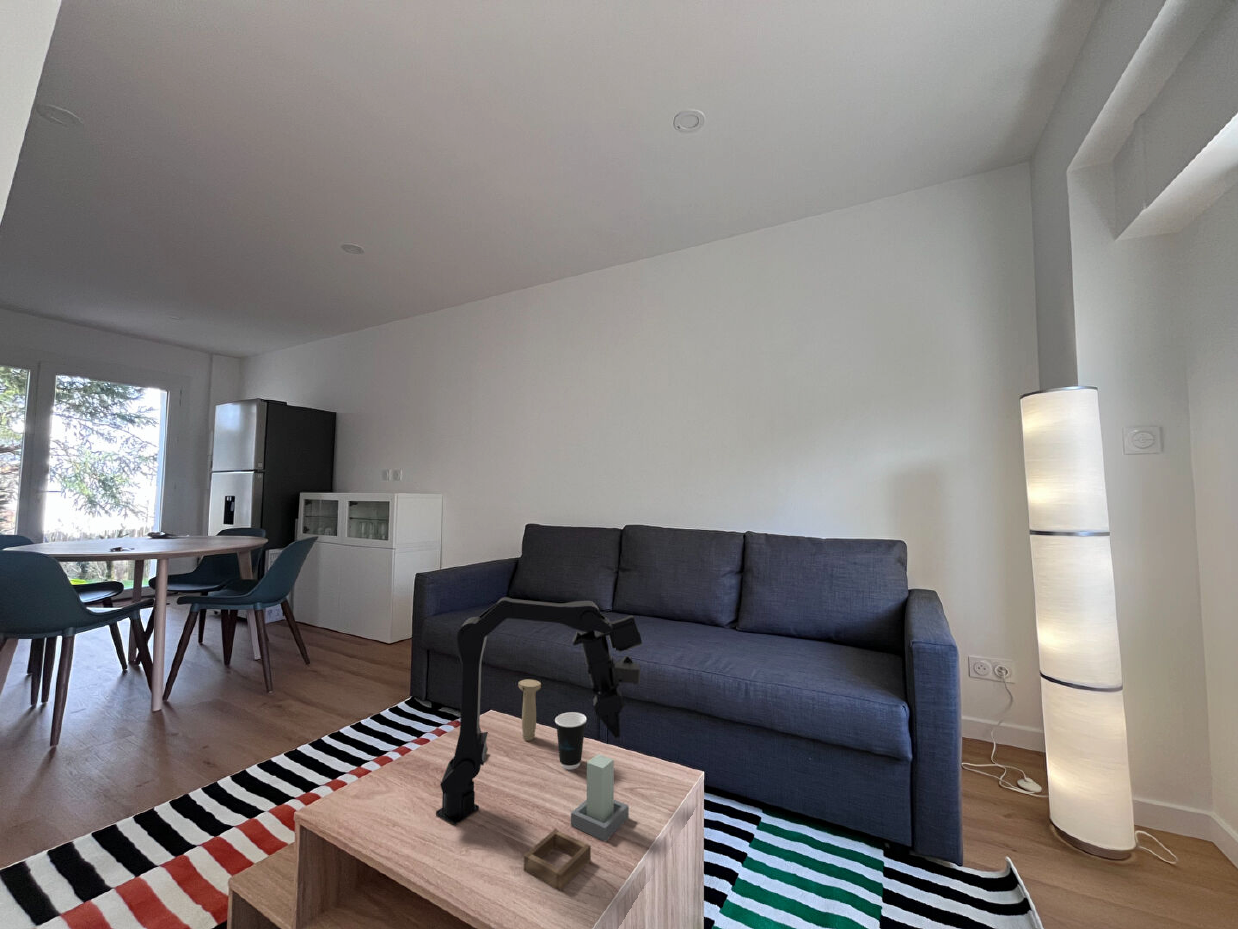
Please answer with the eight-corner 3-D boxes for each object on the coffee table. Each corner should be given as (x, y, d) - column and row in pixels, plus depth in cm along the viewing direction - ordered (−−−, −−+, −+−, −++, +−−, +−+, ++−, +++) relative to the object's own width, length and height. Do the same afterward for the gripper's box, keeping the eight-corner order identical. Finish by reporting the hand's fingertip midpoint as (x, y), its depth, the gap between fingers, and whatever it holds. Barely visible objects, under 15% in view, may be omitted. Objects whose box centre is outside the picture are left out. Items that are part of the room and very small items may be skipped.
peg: (586, 824, 99) (586, 762, 100) (597, 813, 103) (598, 754, 104) (602, 831, 97) (602, 768, 98) (613, 820, 100) (613, 759, 101)
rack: (523, 870, 87) (524, 855, 87) (555, 842, 94) (555, 829, 94) (560, 891, 82) (560, 875, 82) (590, 860, 89) (590, 846, 89)
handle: (531, 745, 131) (532, 688, 132) (514, 739, 135) (515, 683, 136) (543, 738, 135) (544, 682, 137) (526, 732, 139) (527, 678, 140)
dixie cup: (556, 775, 117) (557, 727, 118) (552, 758, 125) (553, 714, 126) (589, 770, 119) (589, 723, 120) (582, 754, 127) (583, 710, 128)
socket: (570, 825, 99) (571, 813, 99) (595, 804, 106) (595, 792, 106) (605, 841, 94) (605, 828, 94) (628, 818, 101) (628, 805, 101)
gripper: (638, 660, 101) (657, 735, 100) (627, 637, 119) (644, 700, 118) (586, 676, 100) (605, 752, 99) (583, 650, 118) (599, 714, 117)
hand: (615, 727), depth 108 cm, fingers open, 9 cm apart
